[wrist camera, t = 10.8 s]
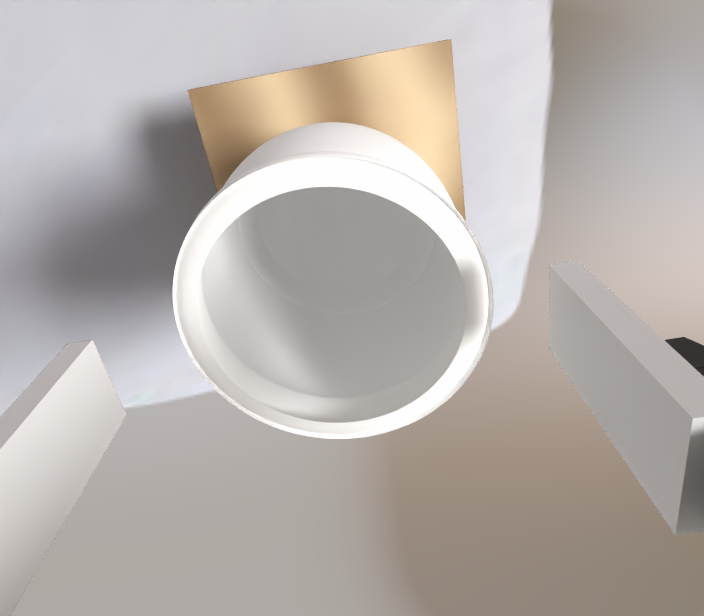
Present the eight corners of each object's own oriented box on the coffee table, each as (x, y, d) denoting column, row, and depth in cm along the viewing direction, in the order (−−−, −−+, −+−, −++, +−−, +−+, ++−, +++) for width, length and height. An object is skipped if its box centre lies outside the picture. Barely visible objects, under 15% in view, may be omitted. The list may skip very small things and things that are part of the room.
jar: (466, 162, 30) (562, 260, 16) (375, 306, 34) (392, 480, 20) (296, 62, 27) (245, 81, 14) (220, 230, 31) (125, 369, 18)
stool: (269, 277, 40) (254, 320, 34) (217, 82, 34) (187, 90, 28) (451, 247, 39) (470, 285, 33) (431, 40, 33) (451, 39, 27)
